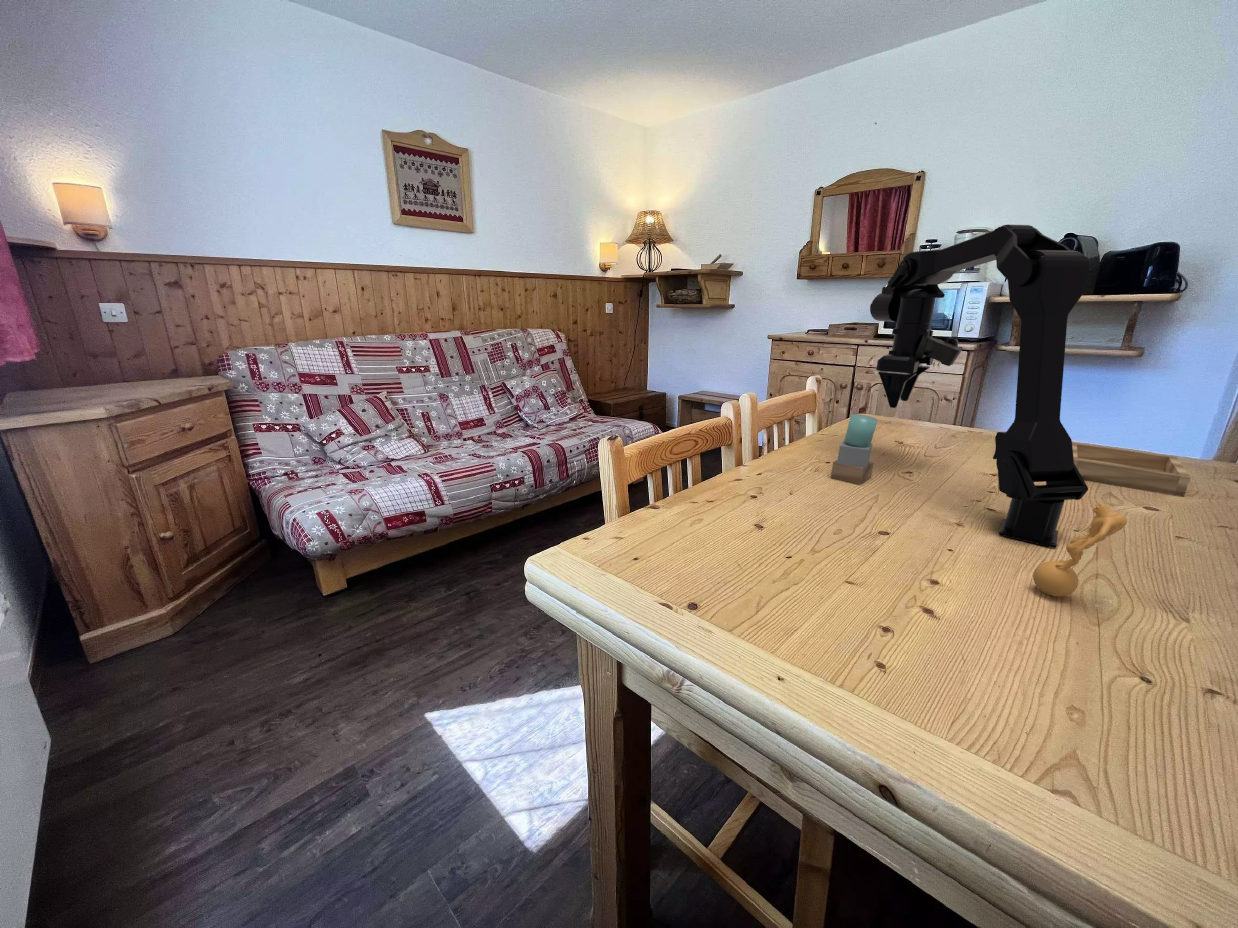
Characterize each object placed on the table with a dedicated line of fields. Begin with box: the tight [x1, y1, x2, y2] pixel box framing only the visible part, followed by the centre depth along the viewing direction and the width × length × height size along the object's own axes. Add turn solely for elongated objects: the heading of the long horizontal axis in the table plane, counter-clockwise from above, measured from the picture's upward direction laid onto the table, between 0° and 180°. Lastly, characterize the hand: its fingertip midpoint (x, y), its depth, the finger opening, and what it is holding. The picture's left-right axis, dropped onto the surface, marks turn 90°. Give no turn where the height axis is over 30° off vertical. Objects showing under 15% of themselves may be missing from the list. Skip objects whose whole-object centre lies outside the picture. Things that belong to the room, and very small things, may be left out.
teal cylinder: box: [843, 413, 879, 447], centre depth 94 cm, size 5×5×5 cm
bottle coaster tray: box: [1072, 442, 1192, 497], centre depth 98 cm, size 16×16×4 cm
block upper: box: [837, 440, 873, 468], centre depth 95 cm, size 5×5×4 cm
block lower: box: [830, 459, 875, 486], centre depth 96 cm, size 6×6×4 cm
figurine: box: [1032, 503, 1128, 597], centre depth 56 cm, size 8×6×12 cm
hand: (898, 404), depth 100 cm, fingers open, 9 cm apart
